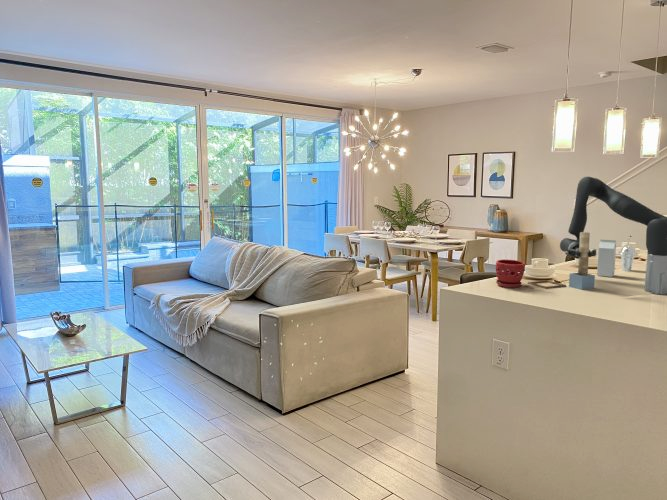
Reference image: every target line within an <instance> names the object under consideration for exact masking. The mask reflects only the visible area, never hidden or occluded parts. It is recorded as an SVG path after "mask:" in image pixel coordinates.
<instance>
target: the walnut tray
mask: <svg viewBox="0 0 667 500" xmlns="http://www.w3.org/2000/svg"><path fill="white" fill-rule="evenodd" d="M541 283H550V284H553V285H547V286H545V285H542V284H541ZM527 285H530V286H534V287H538V288H541V289H545V290H547V289H556V288H566V287H567V284H564V283H561V282H556V281H552V280H549V279H548V280H545V279H544V280H536V281H527Z"/></svg>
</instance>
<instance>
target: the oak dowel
mask: <svg viewBox="0 0 667 500" xmlns="http://www.w3.org/2000/svg"><path fill="white" fill-rule="evenodd" d="M590 237H591V235H590V232H588V231H587V232H585V231H584V232H581V233H580V242H579V252H580V253H581V254H580V257H579V259H578V266H577V267H578V269H577V273H578V275H580V276H588V274H589V258H590V257H589V250H590Z"/></svg>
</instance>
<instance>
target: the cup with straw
mask: <svg viewBox="0 0 667 500" xmlns="http://www.w3.org/2000/svg"><path fill="white" fill-rule="evenodd" d="M630 238H632V235H629V236H628V237H627V245H625V246H622V247H621V249H620V250H619V252H618V254H620V262H621V271H625V272H631V271H632V268H633V263H634V259H635V257H636V255H637V251H636V249H635V248H634V247H633V246H631V245H630Z"/></svg>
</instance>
